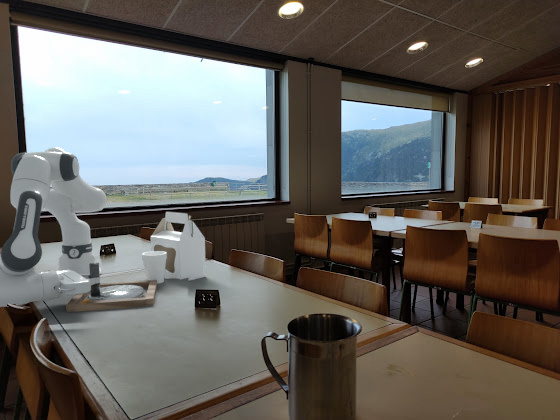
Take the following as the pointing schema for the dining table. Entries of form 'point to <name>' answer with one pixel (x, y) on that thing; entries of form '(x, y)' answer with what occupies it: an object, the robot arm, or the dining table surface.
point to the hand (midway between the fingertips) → (96, 278)
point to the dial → (111, 289)
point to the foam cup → (154, 265)
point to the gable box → (180, 247)
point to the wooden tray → (86, 305)
